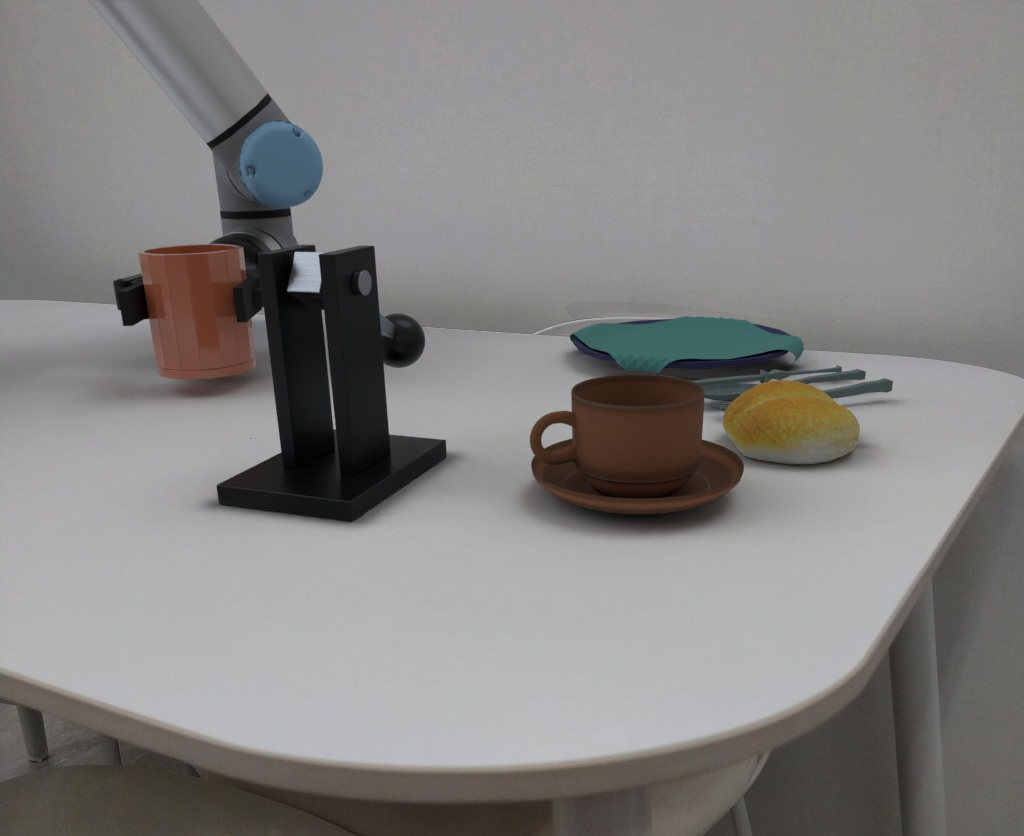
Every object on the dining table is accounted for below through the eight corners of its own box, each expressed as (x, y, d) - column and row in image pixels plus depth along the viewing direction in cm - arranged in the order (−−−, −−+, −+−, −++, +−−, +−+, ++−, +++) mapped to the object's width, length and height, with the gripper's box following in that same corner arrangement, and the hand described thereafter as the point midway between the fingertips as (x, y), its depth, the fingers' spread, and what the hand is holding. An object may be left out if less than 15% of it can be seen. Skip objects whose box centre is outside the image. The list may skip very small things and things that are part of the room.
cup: (136, 376, 81) (115, 253, 78) (199, 356, 88) (184, 243, 85) (215, 382, 78) (198, 255, 75) (275, 361, 85) (262, 244, 82)
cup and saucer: (621, 551, 48) (622, 432, 46) (492, 487, 58) (488, 386, 55) (787, 500, 54) (796, 392, 52) (646, 449, 64) (648, 356, 61)
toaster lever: (382, 373, 67) (391, 323, 67) (428, 376, 65) (438, 325, 66) (273, 301, 55) (286, 241, 55) (328, 303, 53) (340, 241, 54)
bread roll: (747, 471, 59) (751, 407, 57) (712, 430, 67) (714, 373, 66) (881, 465, 59) (888, 401, 58) (829, 424, 68) (834, 368, 66)
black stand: (329, 445, 67) (308, 237, 62) (447, 457, 63) (435, 239, 58) (218, 504, 56) (182, 260, 51) (352, 522, 53) (327, 264, 48)
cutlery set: (728, 331, 100) (730, 309, 99) (918, 400, 73) (922, 370, 72) (545, 347, 95) (544, 324, 94) (675, 428, 68) (676, 396, 67)
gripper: (350, 305, 100) (320, 349, 79) (143, 311, 99) (56, 358, 78) (344, 229, 97) (311, 254, 76) (131, 235, 96) (38, 262, 75)
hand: (182, 307), depth 77 cm, fingers closed on cup, 8 cm apart
